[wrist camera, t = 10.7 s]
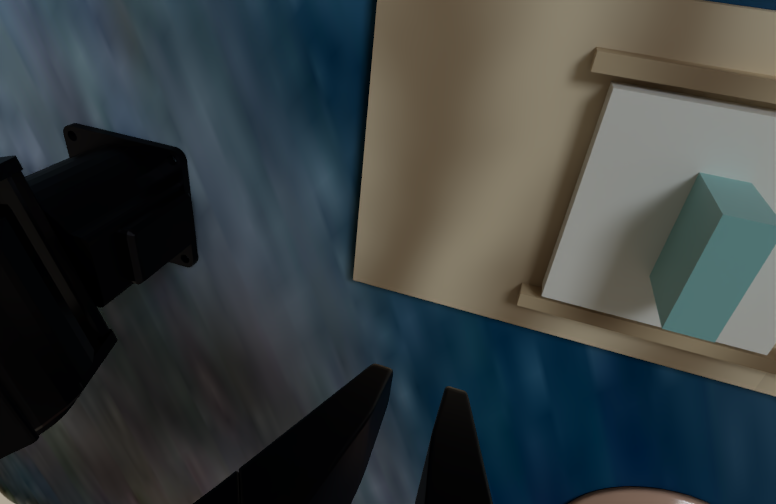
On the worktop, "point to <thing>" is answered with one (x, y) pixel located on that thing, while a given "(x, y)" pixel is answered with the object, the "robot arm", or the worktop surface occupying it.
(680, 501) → the pad
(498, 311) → the board
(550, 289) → the cover
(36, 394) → the robot arm
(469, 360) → the worktop surface
